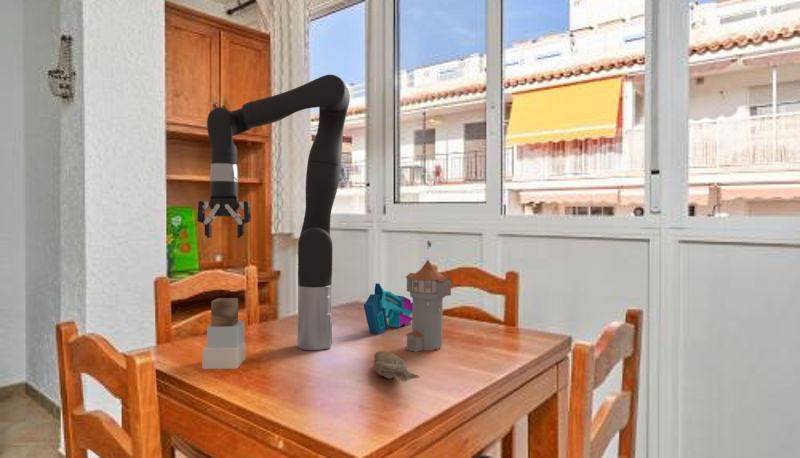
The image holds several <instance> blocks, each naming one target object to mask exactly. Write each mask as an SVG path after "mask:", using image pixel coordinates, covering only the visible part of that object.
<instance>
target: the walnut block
mask: <svg viewBox="0 0 800 458" xmlns="http://www.w3.org/2000/svg"><path fill="white" fill-rule="evenodd" d="M210 304H211V306H210V318H211V320H210V321H211V322H210V325H211V326H234V325H235V324H236V323H237V322H238V321H239V298H238V297H228V298H227V297H218V298H216V299H214V300H212V301H210Z"/></svg>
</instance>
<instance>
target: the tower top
mask: <svg viewBox="0 0 800 458" xmlns="http://www.w3.org/2000/svg"><path fill="white" fill-rule="evenodd" d="M206 332H207V333H206V346H207V348H237V347H238V346H239V345H240V344H241V343H242V342H243V341H244V340H245V320H238V322H237V323H236V324H235V325H234V326H211V324H210V325H208V326H207V327H206Z"/></svg>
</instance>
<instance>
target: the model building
mask: <svg viewBox="0 0 800 458" xmlns="http://www.w3.org/2000/svg"><path fill="white" fill-rule="evenodd" d="M431 247H432V241H430V240H427V248H431ZM405 278H406V292H409V296H410V297H411V298H412V303H413V306H412V314H411V315H412V316H411V318H412V320H411V322H412V325H411V326H412V328H411V332H409V333H407V334H405V336H406V350H407V351H411V352H415V353H417V352H421V351H435V350H434V349H438V348H441V347H443V316H444V310H443V300H444V298H445V297H449V296H452V293H451V292H452V282H453V279H451V278H450V277H448V276H444V275H443V274H441V273H440V272H439V271H437V270H436V268H435V267H434V266H433V265H432V262H430V260H429V259H427V260H426V262H425V263H424V265H423V266H422V267H421V268H420V269H419V270H418V271H416V272H409V273H408V274H407V275H406V276H405ZM441 349H442V348H441ZM438 350H439V349H438Z"/></svg>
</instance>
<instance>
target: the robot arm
mask: <svg viewBox="0 0 800 458" xmlns="http://www.w3.org/2000/svg"><path fill="white" fill-rule="evenodd" d="M350 96H351V95H350V91H349V89H348V87H347V85H346V84H345V82H344V80H342V79H341V78H340V77H339V76H337V75H335V74H326V75H325V74H324V75H322V76H319V77H318V78H315V79H314V80H313V79H312V80H311V81H309V82H307V83H305V84H302V85H300V86H297V87H295V88H292V89H290V90H287V91H284V92H281V93H277V94H276V95H271V96H268V97H264V98H260V99H257V100H253V101H249V102H246V103H244V104H243V105H242V106H241V108H239V109H236V110H229V109H227V108H224V107H220V106H219V107H217V106H216V107H215V108H213V109H211V110H210V111H209V113H208V115H207V119H206V128H207V134H208V135H207V136H208V140H209V144H210V147H211V148H210V149H211V152H210V153H211V156H210V157H211V158H210V162H211V164H210V172H209V173H210V174H209V183H210V184H209V189H210V192H209V194H210V195H209V197H210V198H209V199H210V200H209V201H204V200H199V201H198V203H197V219H196V220H197V222H198V223H201V224H203V225H204V235H205V236H206V238H207V239H211V238H212V237H213V235H212V234H213V233H212V232H213V231H212V230H213V229H212V228H213V225H212V222H213V221H214V220H215V219H216V218H217V217H232V218H233V219H234V220H235V221H236V223H238V224H237V238H238V239H241V238H243V237H244V235H245V225H246V224H247V223H250V222H251V221H252V215H251V214H252V213H251V202H250V201H246V200H245V201H240V200H239V168H238V148H237V146H236V144H235V143H234V140H233V136H237V135H241V134H244V133H245V132H248V131H249V130H252V129H253V128H258V127H261V126H266V125H270V124H272V123H273V124H274V123H277V122H279V121H281V120H283V119H285V118H287V117H290V116H291V115H293V114H296V113H297V112H299V111H300V112H301V111H303V110H307V109H313V108H315V109H316V108H318V112H319V113H318V124H317V125H318V126H317V131H316V133H315V137H314V139H313V142H312V145H311V147H310V150H309V154H308V157H307V164H306V165H307V167H306V174H305V210H304V217H303V223H302V225H301V230H300V231H301V232H300V234H299V237H298V241H297V242H298V243H297V247H298V248H297V258H298V259H297V348H298V349H300V350H305V351H321V350H326V349H327V350H328V349H329V350H330V349H331V347H332V344H333V310H332V278H333V240H332V237H331V215H332V210H333V206H334V203H335V199H336V196H337V193H338V192H337V191H338V187H339V181H340V176H341V175H340V174H341V169H342V168H341V167H342V156H343V154H342V152H343V138H344V137H343V136H344V135H343V134H344V127H345V123H346V118H347V114H348V110H349V105H350V101H351V99H350V98H351V97H350ZM208 206H209V208H210V209H211V211H210V212H209V213H208V215H207V217H206V209H208ZM239 208H241V209H242V210H243V217H244V218H242V215H241V214H240V213H239V212H238V209H239Z"/></svg>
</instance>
